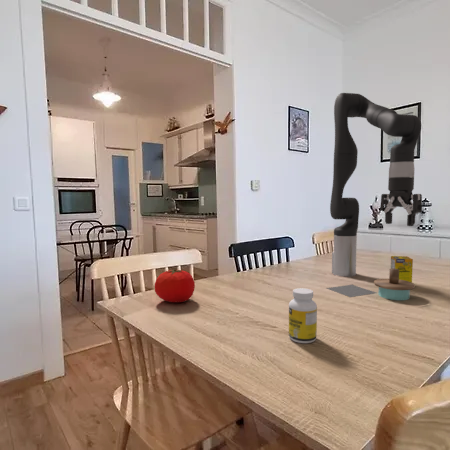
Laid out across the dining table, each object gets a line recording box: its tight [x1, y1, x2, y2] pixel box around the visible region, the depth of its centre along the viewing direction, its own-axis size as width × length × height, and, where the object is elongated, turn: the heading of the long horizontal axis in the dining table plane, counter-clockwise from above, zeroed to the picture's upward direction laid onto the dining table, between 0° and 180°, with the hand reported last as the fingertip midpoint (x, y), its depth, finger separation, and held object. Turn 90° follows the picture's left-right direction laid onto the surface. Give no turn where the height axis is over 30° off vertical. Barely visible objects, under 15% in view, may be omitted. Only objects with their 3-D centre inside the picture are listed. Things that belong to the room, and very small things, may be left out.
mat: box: [325, 284, 377, 298], centre depth 117 cm, size 12×12×1 cm
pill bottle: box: [288, 287, 318, 344], centre depth 78 cm, size 6×6×12 cm
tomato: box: [154, 268, 196, 303], centre depth 108 cm, size 13×12×11 cm
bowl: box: [377, 287, 411, 301], centre depth 110 cm, size 9×9×4 cm
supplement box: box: [390, 255, 414, 283], centre depth 123 cm, size 6×6×11 cm
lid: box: [373, 267, 416, 291], centre depth 110 cm, size 12×12×5 cm
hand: (399, 224), depth 111 cm, fingers open, 8 cm apart
